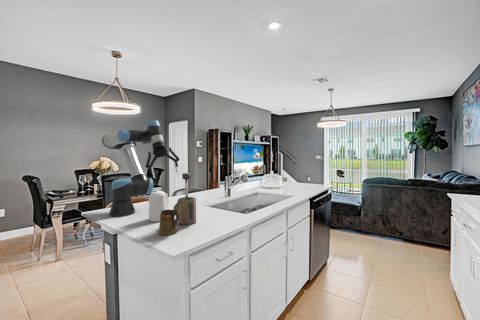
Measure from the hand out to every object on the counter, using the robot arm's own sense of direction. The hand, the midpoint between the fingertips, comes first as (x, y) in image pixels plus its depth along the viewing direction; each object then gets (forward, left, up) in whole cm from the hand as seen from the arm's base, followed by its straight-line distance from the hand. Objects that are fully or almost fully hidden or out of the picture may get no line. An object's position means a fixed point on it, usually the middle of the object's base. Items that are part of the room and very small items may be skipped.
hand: (165, 174), depth 142 cm
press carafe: (+17, +6, -27) cm, 32 cm away
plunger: (+16, +6, -17) cm, 24 cm away
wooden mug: (+26, -8, -27) cm, 39 cm away
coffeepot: (-1, -5, -27) cm, 28 cm away
